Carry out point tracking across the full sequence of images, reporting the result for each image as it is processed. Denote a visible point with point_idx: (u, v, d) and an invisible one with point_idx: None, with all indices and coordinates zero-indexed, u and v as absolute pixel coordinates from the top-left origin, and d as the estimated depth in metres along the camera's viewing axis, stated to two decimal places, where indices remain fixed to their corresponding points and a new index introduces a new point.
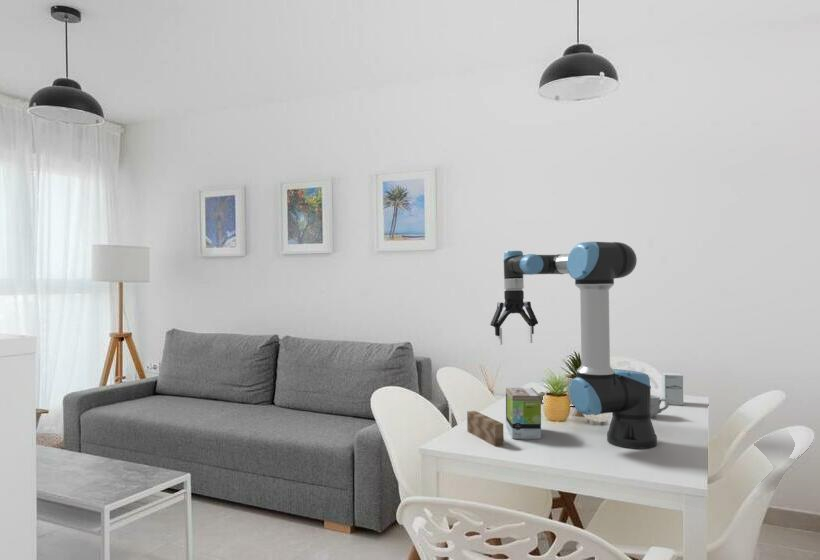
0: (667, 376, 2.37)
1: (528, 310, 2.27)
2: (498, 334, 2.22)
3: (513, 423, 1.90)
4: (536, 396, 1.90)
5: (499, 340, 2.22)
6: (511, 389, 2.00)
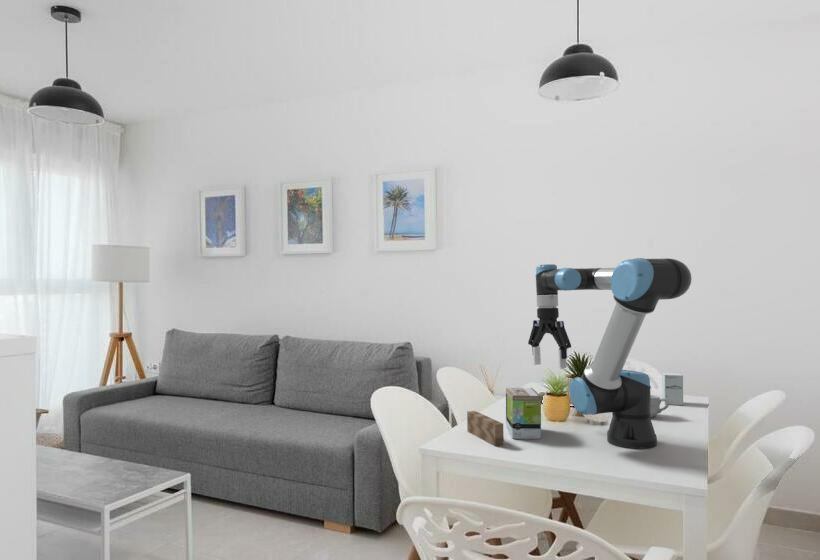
0: (667, 376, 2.37)
1: None
2: None
3: (513, 423, 1.90)
4: (536, 396, 1.90)
5: None
6: (511, 389, 2.00)
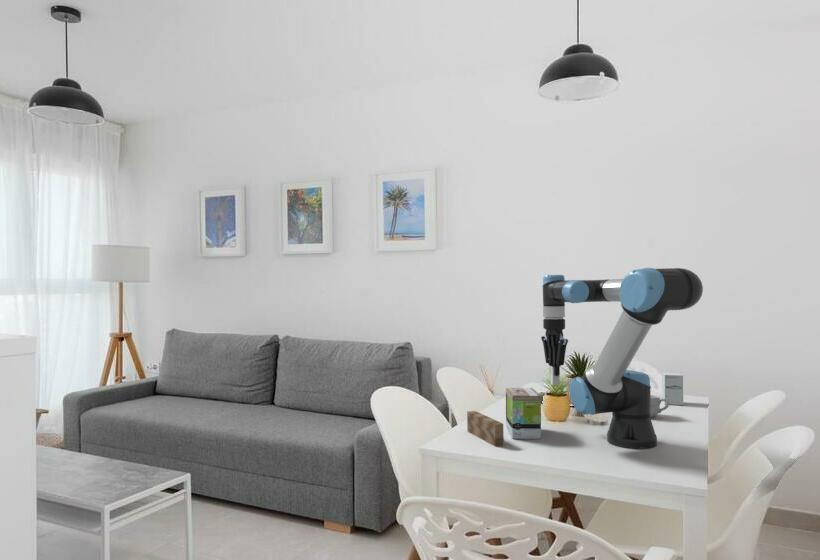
0: (667, 376, 2.37)
1: None
2: None
3: (513, 423, 1.90)
4: (536, 396, 1.90)
5: None
6: (511, 389, 2.00)
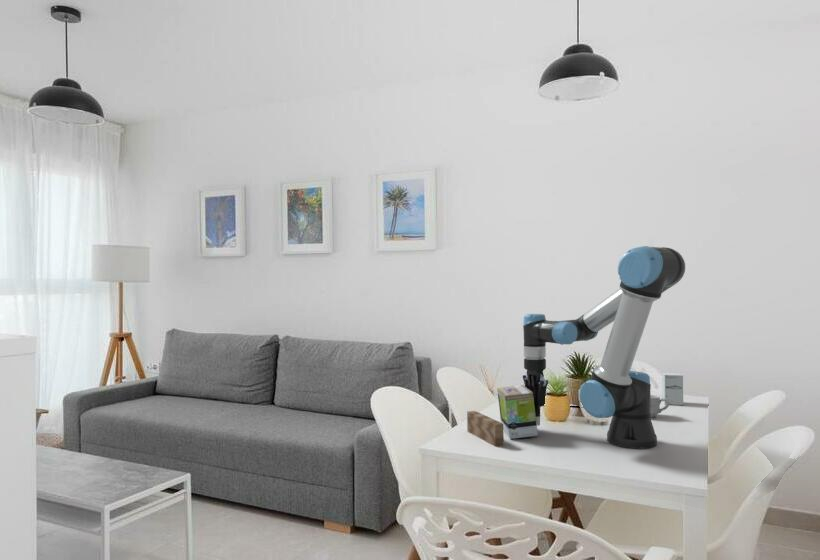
0: (667, 376, 2.37)
1: None
2: None
3: (509, 423, 1.89)
4: (528, 393, 1.90)
5: None
6: (502, 389, 2.00)
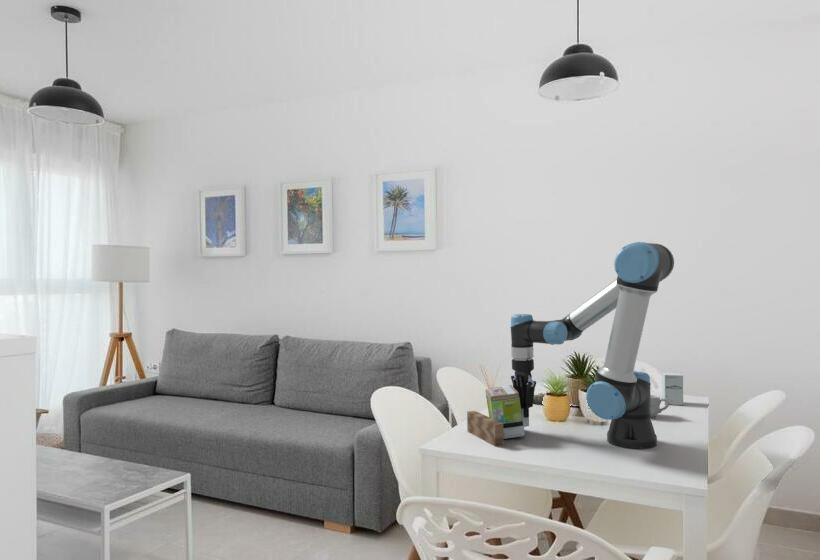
0: (667, 376, 2.37)
1: None
2: None
3: None
4: (514, 394, 1.89)
5: None
6: (490, 390, 1.99)
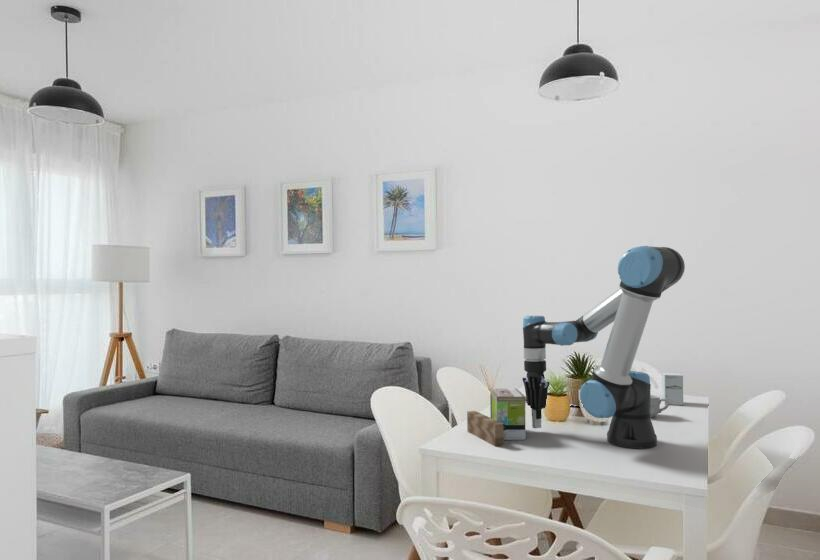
0: (667, 376, 2.37)
1: None
2: None
3: None
4: (520, 397, 1.89)
5: None
6: (495, 390, 1.99)
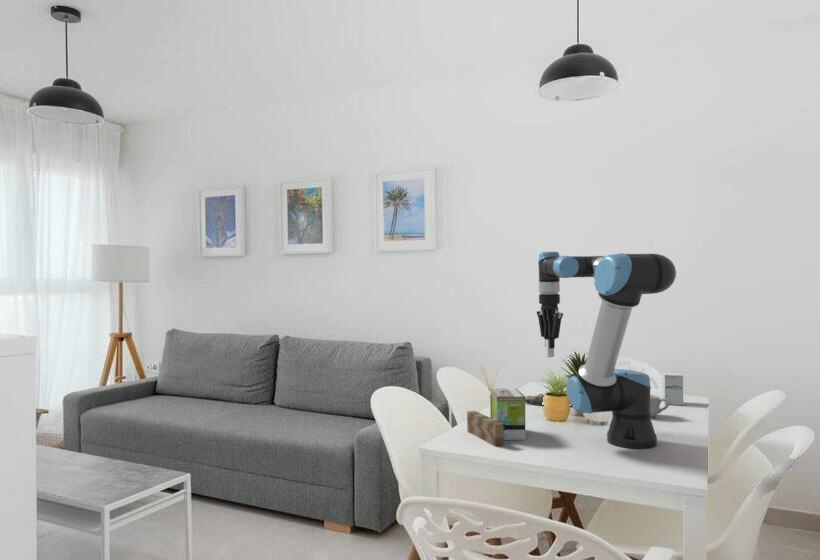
0: (667, 376, 2.37)
1: None
2: (546, 346, 2.12)
3: None
4: (520, 397, 1.89)
5: None
6: (495, 390, 1.99)
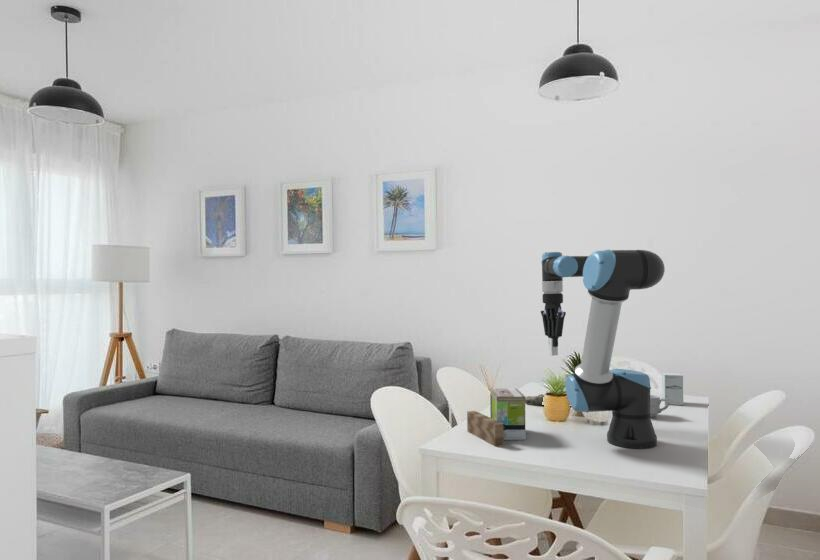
0: (667, 376, 2.37)
1: None
2: None
3: None
4: (520, 397, 1.89)
5: None
6: (495, 390, 1.99)
